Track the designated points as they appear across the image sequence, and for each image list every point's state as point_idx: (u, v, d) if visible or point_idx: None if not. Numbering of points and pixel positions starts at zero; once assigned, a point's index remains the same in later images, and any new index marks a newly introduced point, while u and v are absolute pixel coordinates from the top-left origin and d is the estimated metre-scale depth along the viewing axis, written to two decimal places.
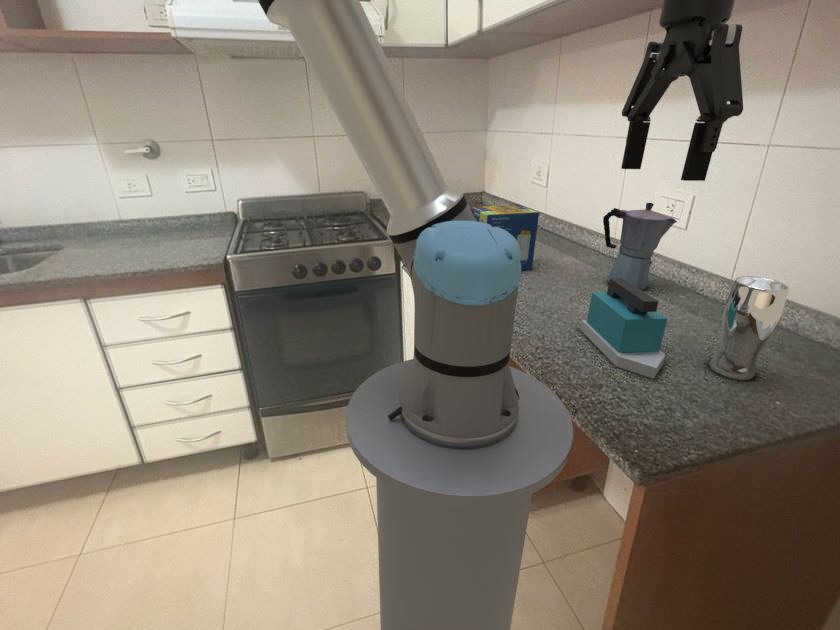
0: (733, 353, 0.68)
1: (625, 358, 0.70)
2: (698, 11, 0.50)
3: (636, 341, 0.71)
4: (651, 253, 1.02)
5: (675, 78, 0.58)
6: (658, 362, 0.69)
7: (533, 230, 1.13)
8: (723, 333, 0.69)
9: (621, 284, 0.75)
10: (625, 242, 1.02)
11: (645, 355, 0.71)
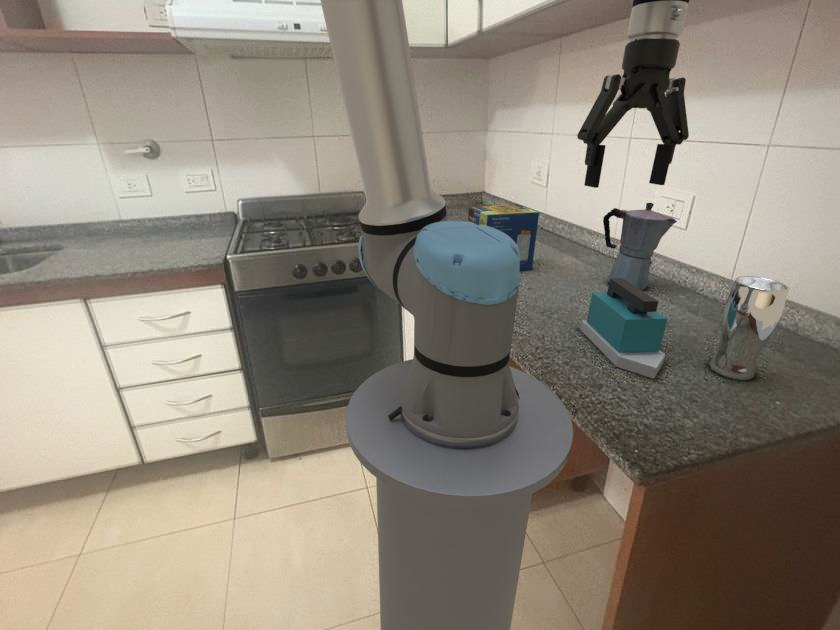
0: (733, 353, 0.68)
1: (625, 358, 0.70)
2: (622, 64, 0.69)
3: (636, 341, 0.71)
4: (651, 253, 1.02)
5: (661, 109, 0.70)
6: (658, 362, 0.69)
7: (533, 230, 1.13)
8: (723, 333, 0.69)
9: (621, 284, 0.75)
10: (625, 242, 1.02)
11: (645, 355, 0.71)
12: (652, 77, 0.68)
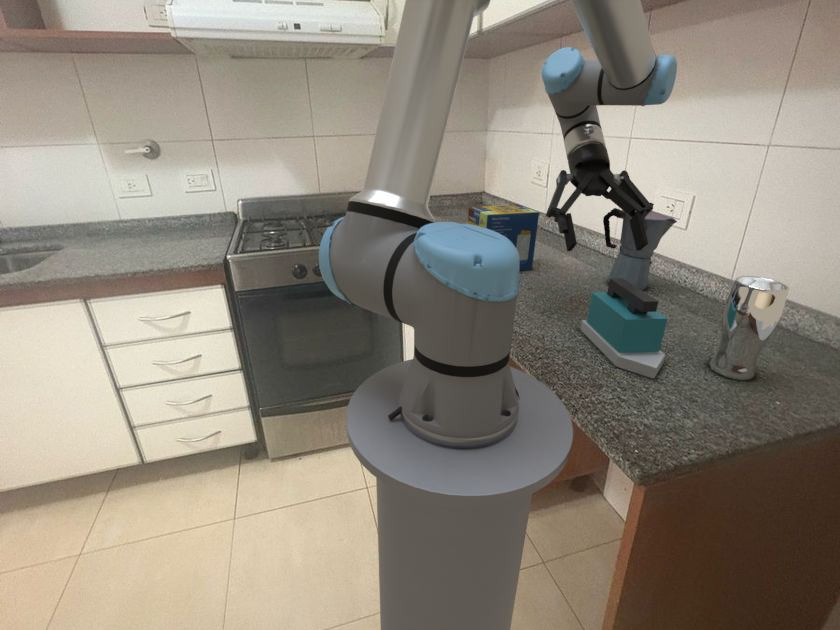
0: (733, 353, 0.68)
1: (625, 358, 0.70)
2: (570, 173, 0.89)
3: (636, 341, 0.71)
4: (651, 253, 1.02)
5: (613, 189, 0.85)
6: (658, 362, 0.69)
7: (533, 230, 1.13)
8: (723, 333, 0.69)
9: (621, 284, 0.75)
10: (625, 242, 1.02)
11: (645, 355, 0.71)
12: (595, 171, 0.86)
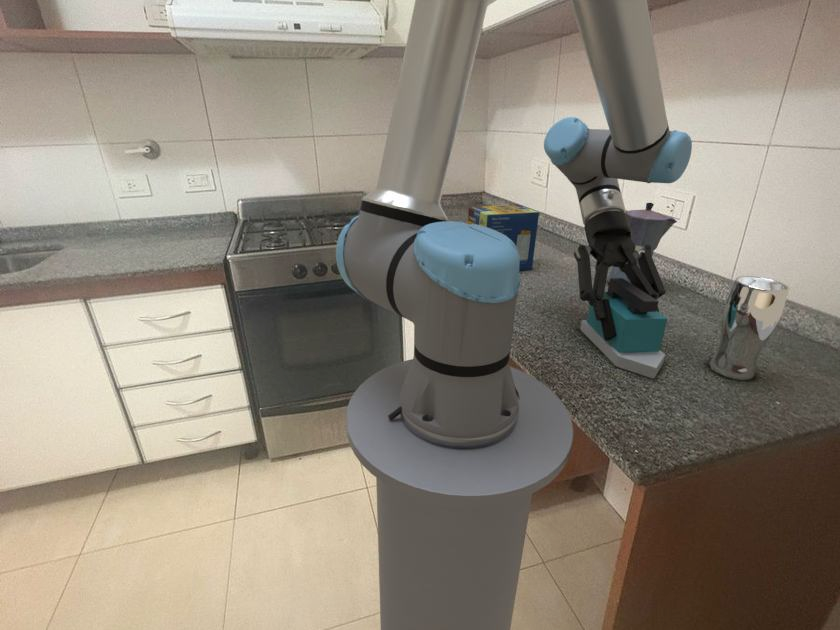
0: (733, 353, 0.68)
1: (625, 358, 0.70)
2: (587, 240, 0.82)
3: (636, 341, 0.71)
4: (651, 253, 1.02)
5: (630, 263, 0.77)
6: (658, 362, 0.69)
7: (533, 230, 1.13)
8: (723, 333, 0.69)
9: (621, 284, 0.75)
10: None
11: (645, 355, 0.71)
12: (614, 240, 0.79)
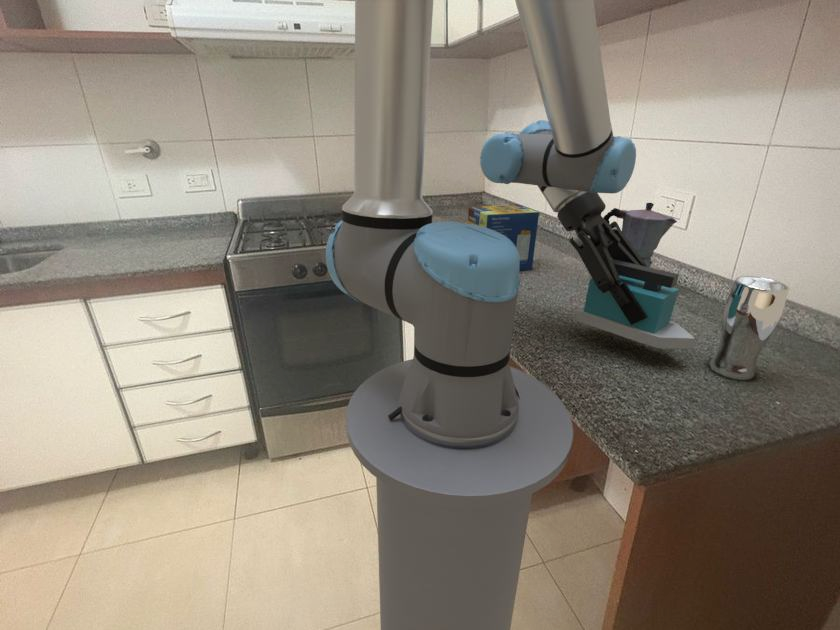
0: (733, 353, 0.68)
1: (665, 337, 0.69)
2: (567, 225, 0.76)
3: (663, 318, 0.71)
4: (651, 253, 1.02)
5: (616, 242, 0.76)
6: (687, 332, 0.71)
7: (533, 230, 1.13)
8: (723, 333, 0.69)
9: (625, 265, 0.73)
10: None
11: (669, 328, 0.72)
12: (596, 221, 0.76)
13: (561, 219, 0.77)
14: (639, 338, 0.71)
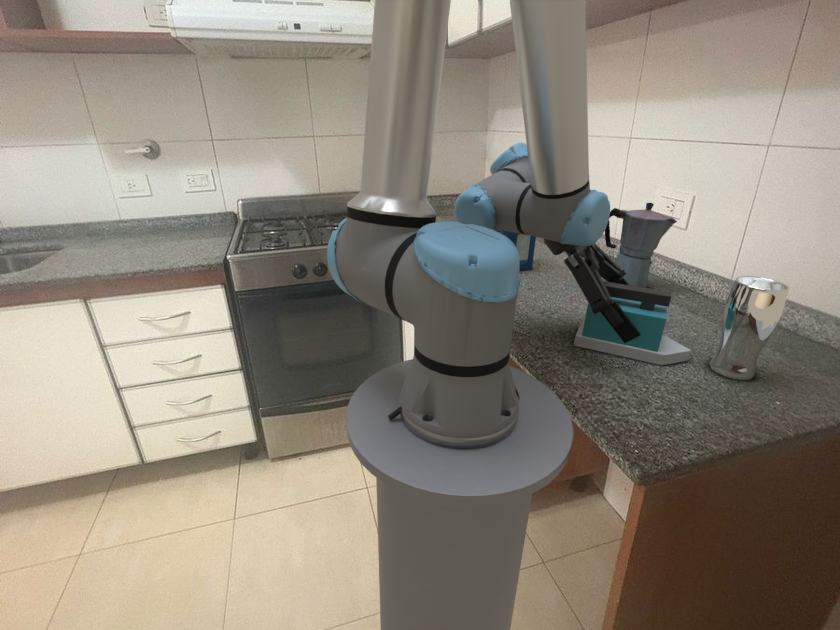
0: (733, 353, 0.68)
1: (668, 354, 0.72)
2: (558, 250, 0.74)
3: None
4: (651, 253, 1.02)
5: (602, 259, 0.77)
6: (680, 344, 0.75)
7: None
8: (723, 333, 0.69)
9: (619, 287, 0.74)
10: (625, 242, 1.02)
11: (664, 343, 0.75)
12: None
13: (551, 244, 0.74)
14: (643, 357, 0.73)
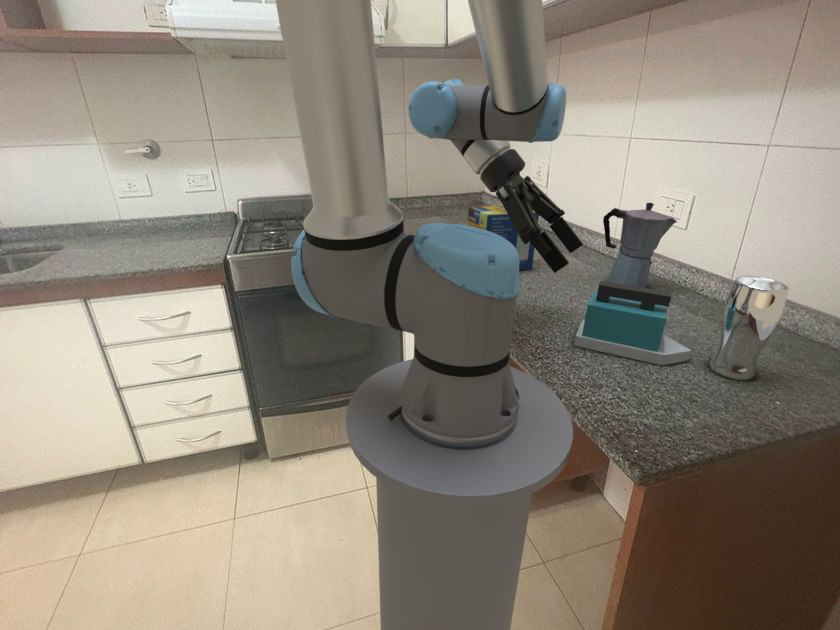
0: (733, 353, 0.68)
1: (668, 354, 0.72)
2: (492, 185, 0.75)
3: None
4: (651, 253, 1.02)
5: (538, 196, 0.79)
6: (680, 344, 0.75)
7: None
8: (723, 333, 0.69)
9: (619, 287, 0.74)
10: (625, 242, 1.02)
11: (664, 343, 0.75)
12: (518, 180, 0.77)
13: (486, 180, 0.76)
14: (643, 357, 0.73)
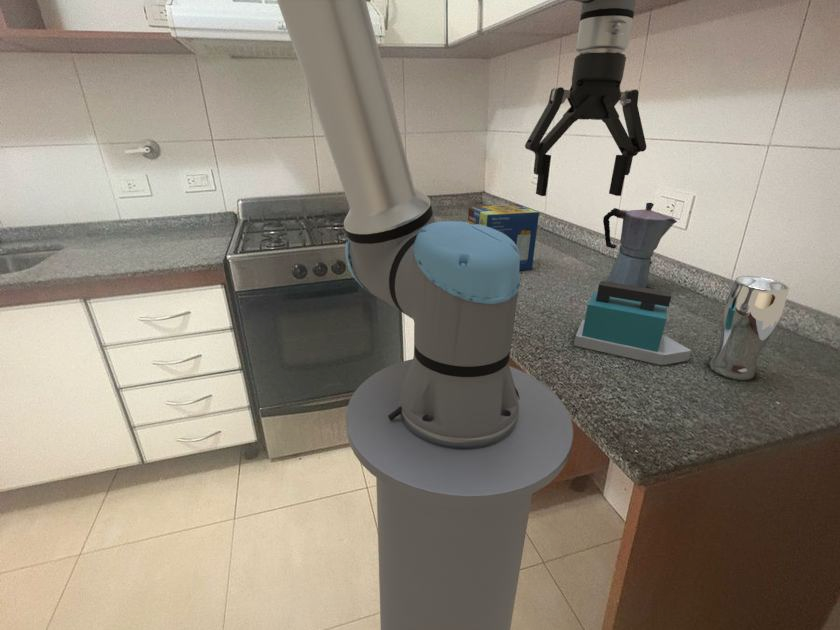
0: (733, 353, 0.68)
1: (668, 354, 0.72)
2: None
3: None
4: (651, 253, 1.02)
5: (611, 120, 0.71)
6: (680, 344, 0.75)
7: (533, 230, 1.13)
8: (723, 333, 0.69)
9: (619, 287, 0.74)
10: (625, 242, 1.02)
11: (664, 343, 0.75)
12: (599, 89, 0.69)
13: None
14: (643, 357, 0.73)
